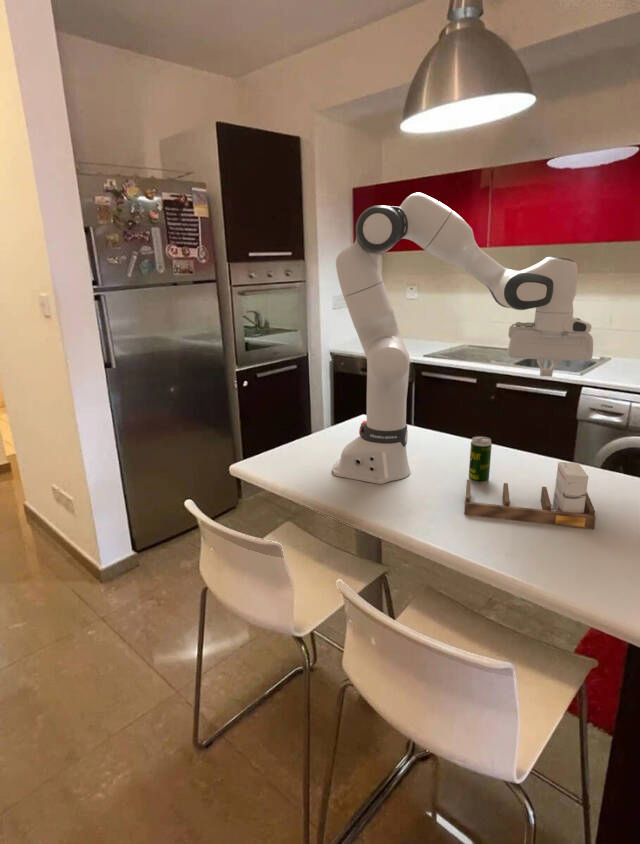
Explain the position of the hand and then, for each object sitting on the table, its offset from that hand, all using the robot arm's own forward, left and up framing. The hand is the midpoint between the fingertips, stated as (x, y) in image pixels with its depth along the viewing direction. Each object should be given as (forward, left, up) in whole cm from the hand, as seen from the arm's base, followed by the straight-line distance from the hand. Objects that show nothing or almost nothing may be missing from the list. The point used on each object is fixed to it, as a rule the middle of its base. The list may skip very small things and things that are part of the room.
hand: (545, 376), depth 135 cm
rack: (-4, -22, -29) cm, 36 cm away
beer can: (-15, -7, -29) cm, 33 cm away
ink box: (+5, -23, -29) cm, 37 cm away
